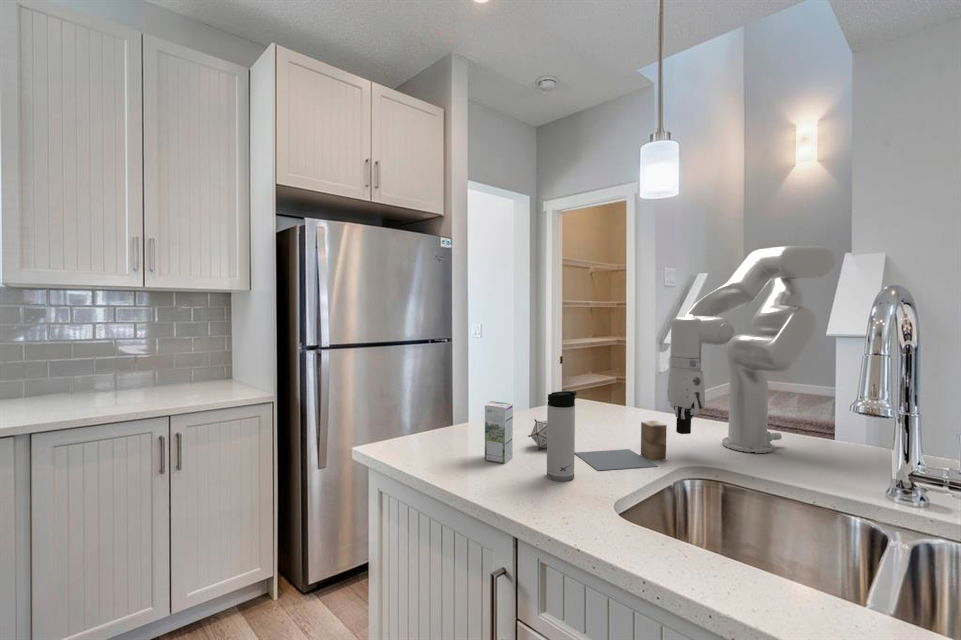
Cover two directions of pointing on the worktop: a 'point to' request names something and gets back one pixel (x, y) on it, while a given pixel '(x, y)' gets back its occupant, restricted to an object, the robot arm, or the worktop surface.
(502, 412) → the syrup box
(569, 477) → the travel mug
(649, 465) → the mat
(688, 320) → the robot arm
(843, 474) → the worktop surface
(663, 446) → the pillar block
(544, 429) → the game die
